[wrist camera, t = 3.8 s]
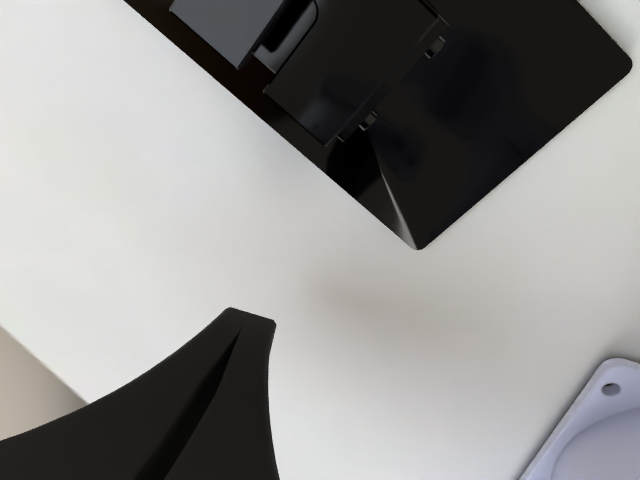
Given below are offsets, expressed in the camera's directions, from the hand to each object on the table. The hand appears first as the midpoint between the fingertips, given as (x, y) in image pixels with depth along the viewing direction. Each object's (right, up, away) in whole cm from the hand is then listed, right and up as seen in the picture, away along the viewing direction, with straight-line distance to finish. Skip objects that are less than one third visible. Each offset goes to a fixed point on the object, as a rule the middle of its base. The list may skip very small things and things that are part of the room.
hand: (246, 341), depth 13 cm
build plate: (+3, +9, -1) cm, 9 cm away
